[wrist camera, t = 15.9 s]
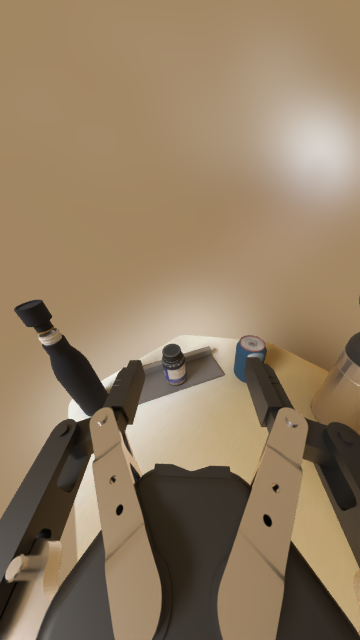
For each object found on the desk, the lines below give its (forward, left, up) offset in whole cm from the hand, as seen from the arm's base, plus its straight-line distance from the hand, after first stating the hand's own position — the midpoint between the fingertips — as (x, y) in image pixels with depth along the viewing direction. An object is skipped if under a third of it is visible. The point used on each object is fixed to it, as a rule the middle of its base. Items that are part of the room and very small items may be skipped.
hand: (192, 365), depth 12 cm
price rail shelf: (-1, -22, -30) cm, 37 cm away
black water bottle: (+21, -22, -30) cm, 43 cm away
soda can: (-20, -16, -30) cm, 40 cm away
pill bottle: (-1, -22, -30) cm, 37 cm away
